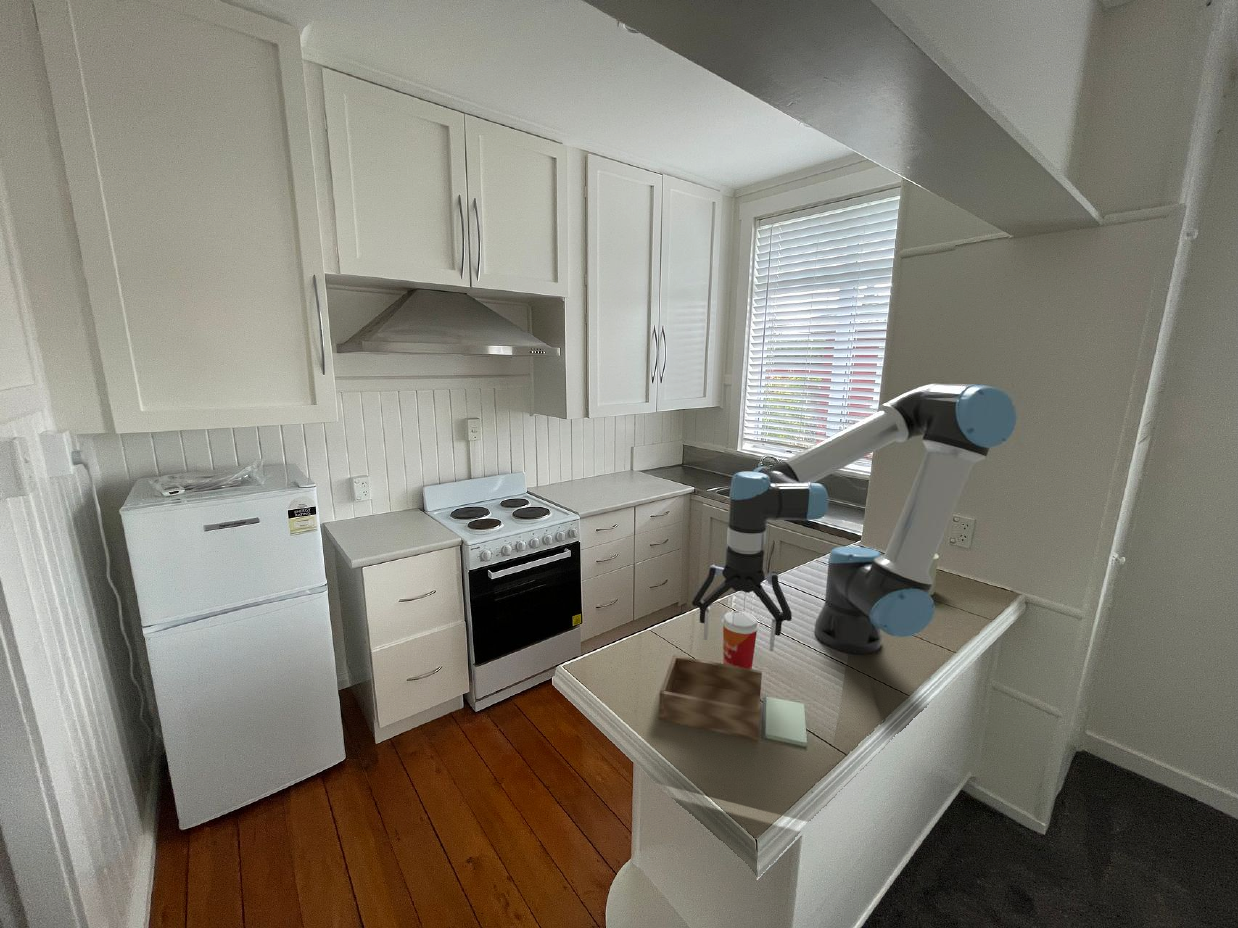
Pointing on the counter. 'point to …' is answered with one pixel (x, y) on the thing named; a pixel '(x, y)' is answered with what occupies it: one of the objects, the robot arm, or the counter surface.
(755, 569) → the robot arm
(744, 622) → the paper cup
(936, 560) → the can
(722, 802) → the counter surface
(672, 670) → the crate
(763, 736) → the book
